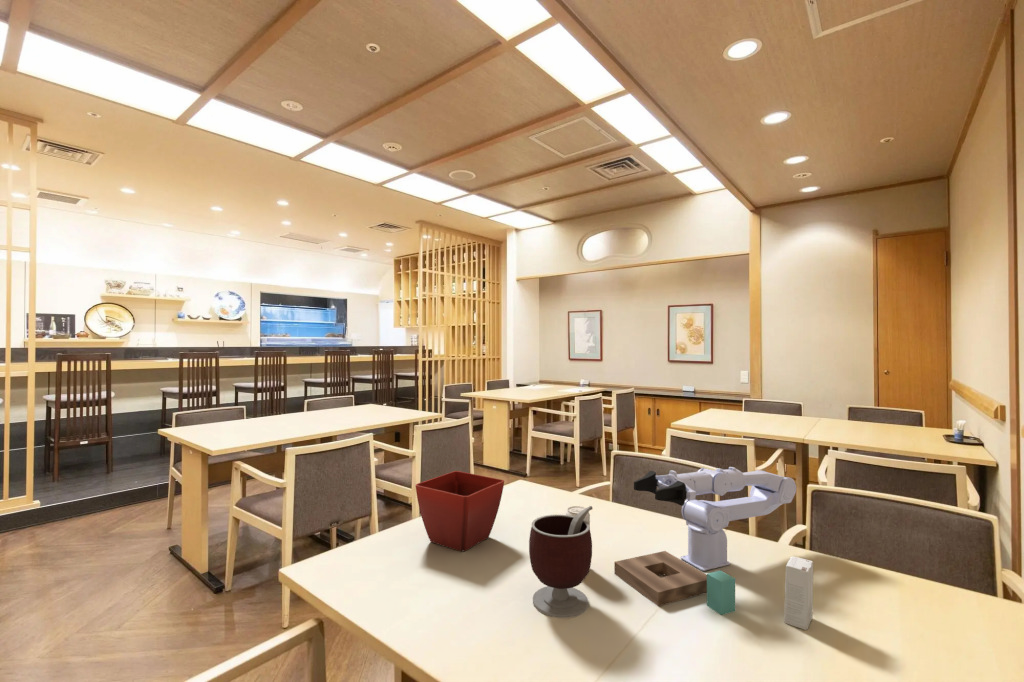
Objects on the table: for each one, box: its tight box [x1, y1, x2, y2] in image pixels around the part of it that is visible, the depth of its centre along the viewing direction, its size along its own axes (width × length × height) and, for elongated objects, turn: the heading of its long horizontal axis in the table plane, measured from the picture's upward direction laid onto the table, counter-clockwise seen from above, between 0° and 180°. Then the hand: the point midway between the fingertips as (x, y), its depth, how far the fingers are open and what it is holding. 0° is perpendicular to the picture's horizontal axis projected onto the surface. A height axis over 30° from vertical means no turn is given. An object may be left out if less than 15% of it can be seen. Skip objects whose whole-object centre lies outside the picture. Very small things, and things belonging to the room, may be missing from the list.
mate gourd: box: [528, 505, 593, 619], centre depth 106 cm, size 16×14×20 cm
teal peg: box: [706, 570, 736, 616], centre depth 104 cm, size 4×4×7 cm
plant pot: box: [415, 470, 505, 552], centre depth 140 cm, size 19×19×17 cm
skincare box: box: [783, 556, 814, 631], centre depth 99 cm, size 6×4×12 cm
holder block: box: [613, 550, 707, 607], centre depth 115 cm, size 16×16×3 cm
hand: (645, 490), depth 117 cm, fingers open, 7 cm apart
